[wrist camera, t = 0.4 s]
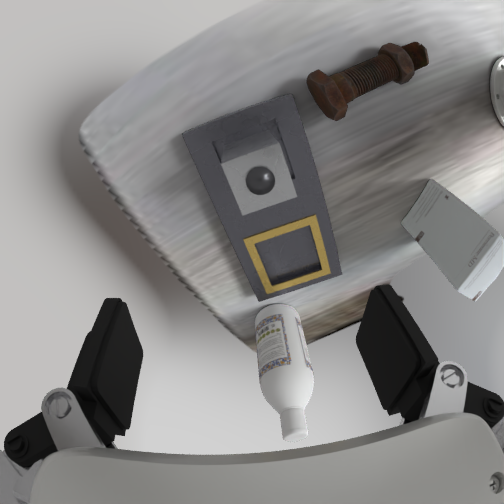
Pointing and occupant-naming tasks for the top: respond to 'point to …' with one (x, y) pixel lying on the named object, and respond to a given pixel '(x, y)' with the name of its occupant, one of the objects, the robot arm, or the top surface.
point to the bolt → (365, 77)
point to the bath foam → (284, 367)
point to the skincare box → (456, 239)
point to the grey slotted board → (276, 216)
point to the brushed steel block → (257, 172)
